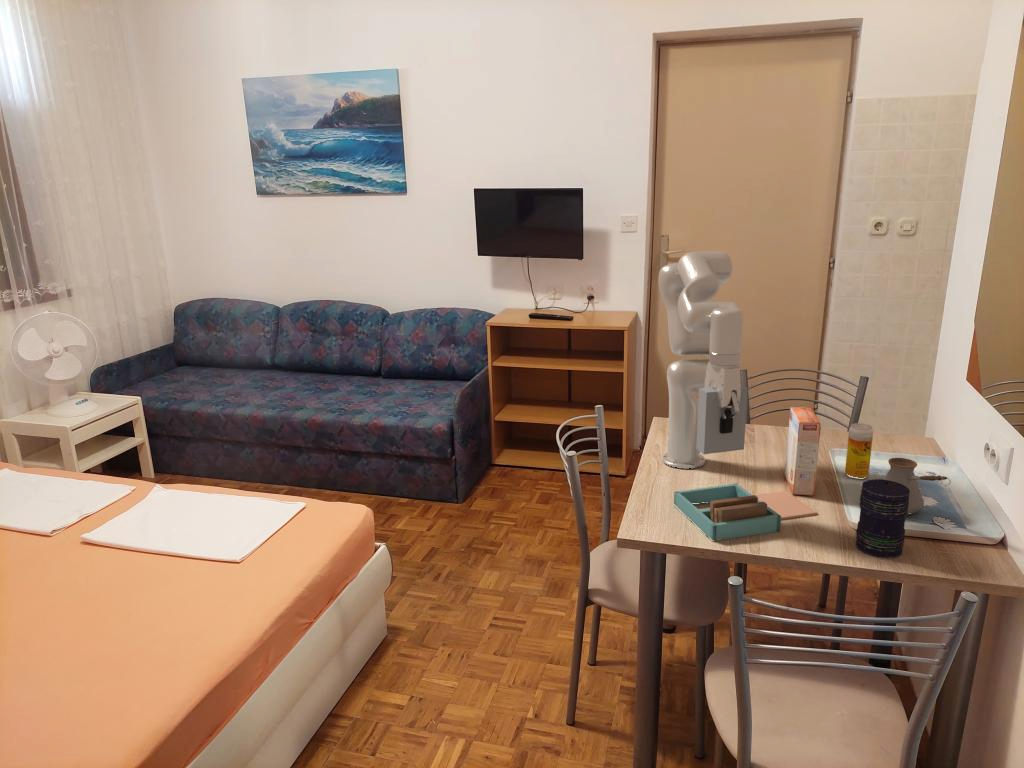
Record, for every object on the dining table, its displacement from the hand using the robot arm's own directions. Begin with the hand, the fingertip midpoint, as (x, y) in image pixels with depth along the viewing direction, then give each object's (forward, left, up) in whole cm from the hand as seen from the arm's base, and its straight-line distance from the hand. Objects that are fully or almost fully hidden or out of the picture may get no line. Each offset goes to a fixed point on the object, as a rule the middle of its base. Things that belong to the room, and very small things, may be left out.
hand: (721, 429), depth 182 cm
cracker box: (-8, +29, -23) cm, 38 cm away
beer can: (-9, +48, -23) cm, 54 cm away
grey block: (0, 0, -5) cm, 5 cm away
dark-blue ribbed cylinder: (+28, +25, -23) cm, 44 cm away
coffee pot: (+17, +43, -23) cm, 52 cm away
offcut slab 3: (+12, 0, -23) cm, 26 cm away
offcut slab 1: (+8, 0, -23) cm, 24 cm away
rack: (+4, 0, -22) cm, 23 cm away
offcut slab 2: (+10, 0, -23) cm, 25 cm away
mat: (+2, +16, -22) cm, 28 cm away
